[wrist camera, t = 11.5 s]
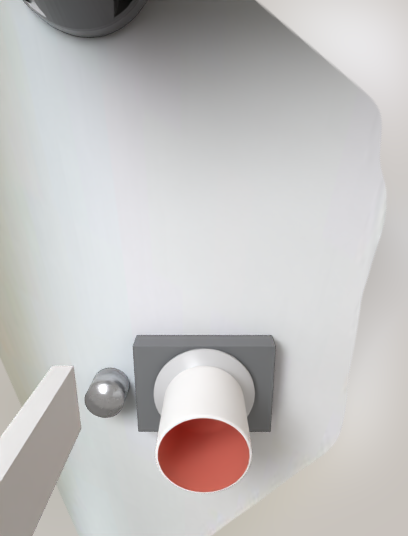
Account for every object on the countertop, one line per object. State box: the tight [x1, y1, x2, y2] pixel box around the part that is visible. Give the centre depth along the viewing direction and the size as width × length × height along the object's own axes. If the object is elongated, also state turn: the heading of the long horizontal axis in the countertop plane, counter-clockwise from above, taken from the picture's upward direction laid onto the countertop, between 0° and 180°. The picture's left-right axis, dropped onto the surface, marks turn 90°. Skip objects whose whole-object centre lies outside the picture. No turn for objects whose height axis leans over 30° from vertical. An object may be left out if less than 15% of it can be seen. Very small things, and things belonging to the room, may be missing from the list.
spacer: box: [85, 368, 129, 418], centre depth 49 cm, size 5×5×4 cm
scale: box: [133, 335, 276, 432], centre depth 49 cm, size 13×18×4 cm
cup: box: [155, 366, 252, 493], centre depth 42 cm, size 10×10×10 cm
